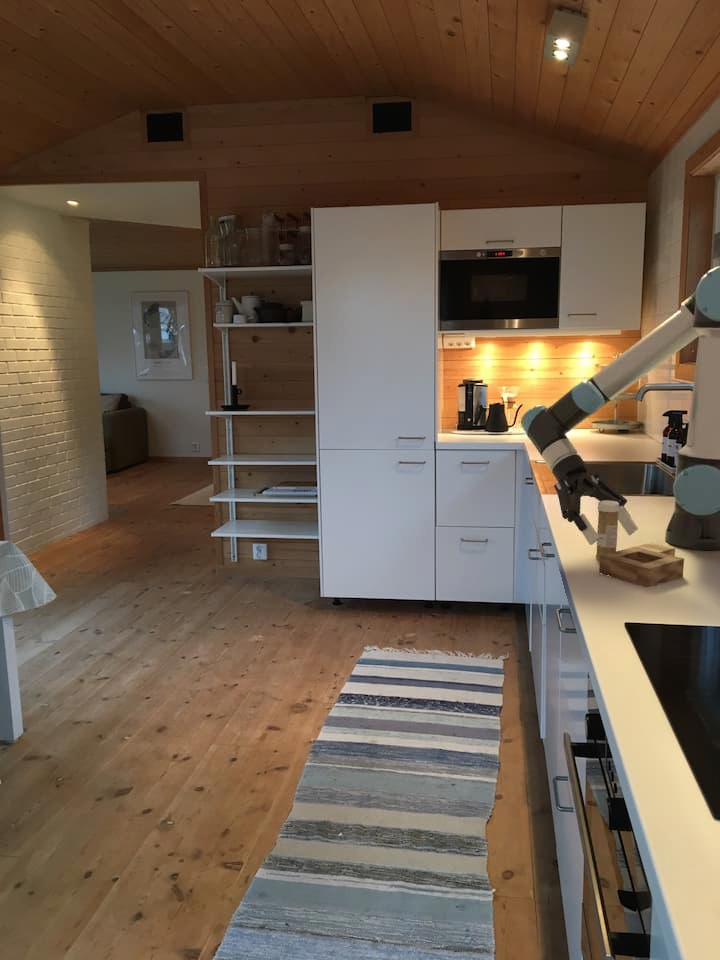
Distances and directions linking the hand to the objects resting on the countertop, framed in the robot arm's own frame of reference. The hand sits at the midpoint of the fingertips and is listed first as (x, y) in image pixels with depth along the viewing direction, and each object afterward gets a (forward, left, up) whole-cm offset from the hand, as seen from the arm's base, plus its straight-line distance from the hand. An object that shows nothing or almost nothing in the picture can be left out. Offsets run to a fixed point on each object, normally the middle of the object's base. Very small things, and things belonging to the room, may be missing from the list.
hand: (614, 536), depth 172 cm
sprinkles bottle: (0, -2, -6) cm, 6 cm away
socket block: (+4, +10, -6) cm, 12 cm away
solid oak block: (-5, +7, -6) cm, 10 cm away
